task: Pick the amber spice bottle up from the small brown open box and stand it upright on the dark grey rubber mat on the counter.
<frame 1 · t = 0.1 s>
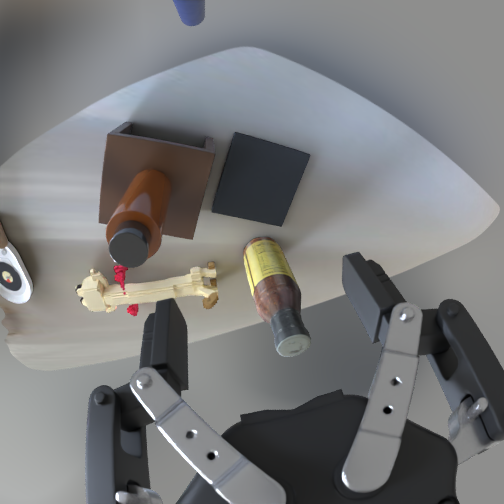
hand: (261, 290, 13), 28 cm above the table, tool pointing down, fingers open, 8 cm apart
brown open box: (160, 167, 37), on the table
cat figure: (143, 278, 47), on the table
spice bottle: (150, 189, 30), point 8 cm above the table, touching brown open box
sauce bottle: (261, 249, 47), on the table
mat: (259, 181, 40), on the table
record player: (2, 259, 39), on the table
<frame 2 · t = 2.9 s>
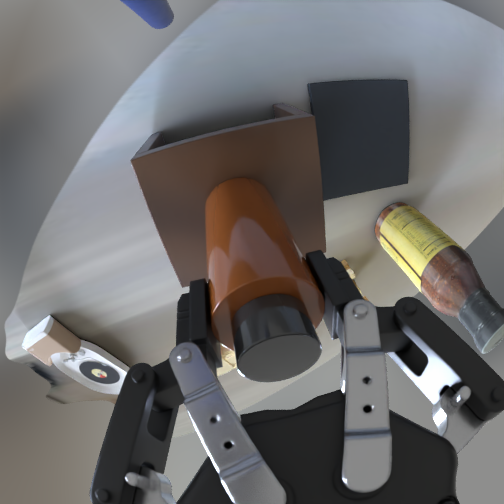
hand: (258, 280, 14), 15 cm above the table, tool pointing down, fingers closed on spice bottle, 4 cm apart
brown open box: (229, 172, 26), on the table
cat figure: (264, 313, 38), on the table
spice bottle: (239, 210, 20), point 8 cm above the table, touching gripper, brown open box
sauce bottle: (392, 219, 32), on the table
mat: (365, 136, 26), on the table
record player: (84, 358, 39), on the table
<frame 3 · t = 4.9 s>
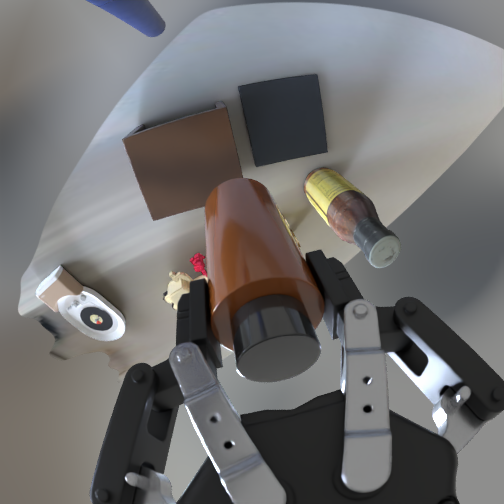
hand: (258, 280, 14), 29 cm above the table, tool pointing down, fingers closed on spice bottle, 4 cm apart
brown open box: (188, 149, 38), on the table
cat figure: (223, 260, 49), on the table
spice bottle: (239, 210, 20), point 22 cm above the table, touching gripper
sauce bottle: (320, 182, 44), on the table
mat: (285, 119, 37), on the table
record player: (85, 305, 51), on the table
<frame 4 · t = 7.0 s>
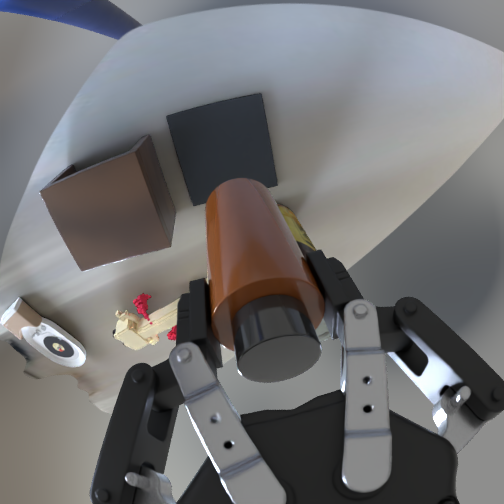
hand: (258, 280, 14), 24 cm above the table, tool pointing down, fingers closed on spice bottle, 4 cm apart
brown open box: (120, 189, 33), on the table
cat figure: (171, 299, 45), on the table
spice bottle: (240, 210, 20), point 16 cm above the table, touching gripper
sauce bottle: (271, 219, 40), on the table
mat: (224, 150, 33), on the table
record player: (47, 334, 46), on the table
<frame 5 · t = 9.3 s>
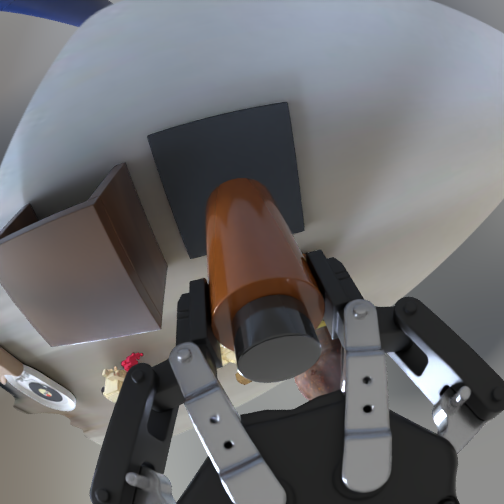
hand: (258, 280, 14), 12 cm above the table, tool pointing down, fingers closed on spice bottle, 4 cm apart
brown open box: (91, 236, 24), on the table
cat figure: (167, 357, 36), on the table
spice bottle: (240, 210, 20), point 5 cm above the table, touching gripper
sauce bottle: (292, 270, 30), on the table
mat: (232, 184, 24), on the table
record player: (32, 378, 37), on the table
when the fingers open (8 cm above the table, at t = 11.0 s): spice bottle stays where it is, resting on mat.
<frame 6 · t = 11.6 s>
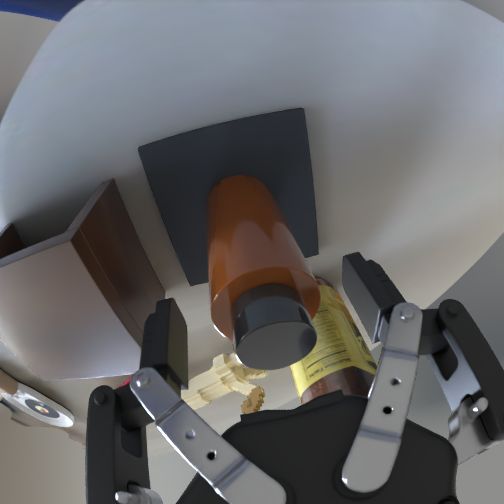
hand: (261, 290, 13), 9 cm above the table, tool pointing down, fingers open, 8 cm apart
brown open box: (79, 260, 21), on the table
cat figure: (167, 380, 33), on the table
spice bottle: (239, 206, 20), resting on mat
sauce bottle: (303, 295, 27), on the table
mat: (238, 203, 21), on the table
record player: (27, 395, 34), on the table
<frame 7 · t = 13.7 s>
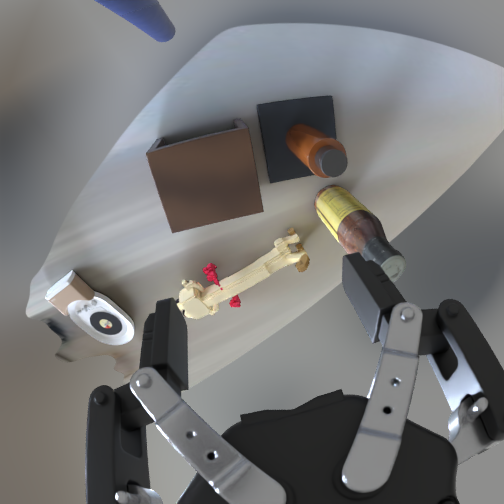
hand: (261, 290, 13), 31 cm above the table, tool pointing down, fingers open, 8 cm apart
brown open box: (206, 163, 40), on the table
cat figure: (234, 270, 51), on the table
spice bottle: (301, 139, 39), resting on mat
sauce bottle: (329, 198, 46), on the table
mat: (300, 138, 39), on the table
record player: (95, 310, 52), on the table
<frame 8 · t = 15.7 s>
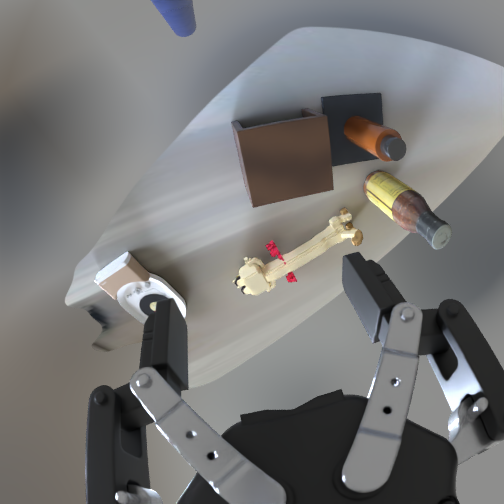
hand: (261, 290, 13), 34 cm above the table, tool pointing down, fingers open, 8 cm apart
brown open box: (275, 147, 43), on the table
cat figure: (290, 247, 55), on the table
spice bottle: (356, 129, 42), resting on mat
sauce bottle: (375, 182, 49), on the table
mat: (354, 128, 43), on the table
record player: (145, 293, 56), on the table
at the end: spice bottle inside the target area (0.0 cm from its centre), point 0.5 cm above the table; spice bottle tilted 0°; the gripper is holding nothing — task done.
